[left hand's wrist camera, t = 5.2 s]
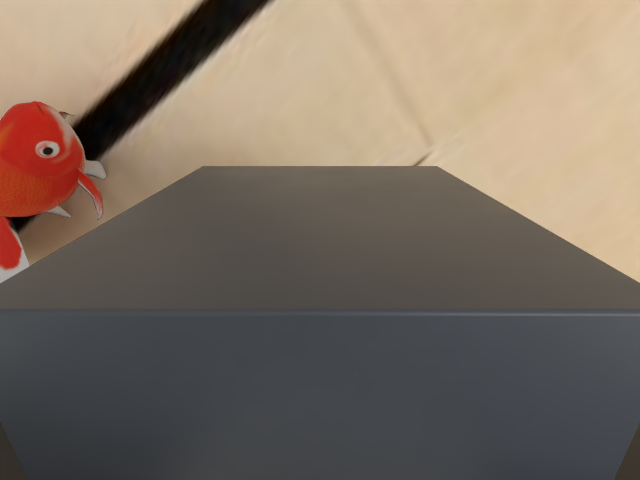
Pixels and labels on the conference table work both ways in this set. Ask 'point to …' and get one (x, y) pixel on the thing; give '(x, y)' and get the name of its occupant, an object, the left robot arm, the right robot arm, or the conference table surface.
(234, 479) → the box
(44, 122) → the fish
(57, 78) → the conference table surface
